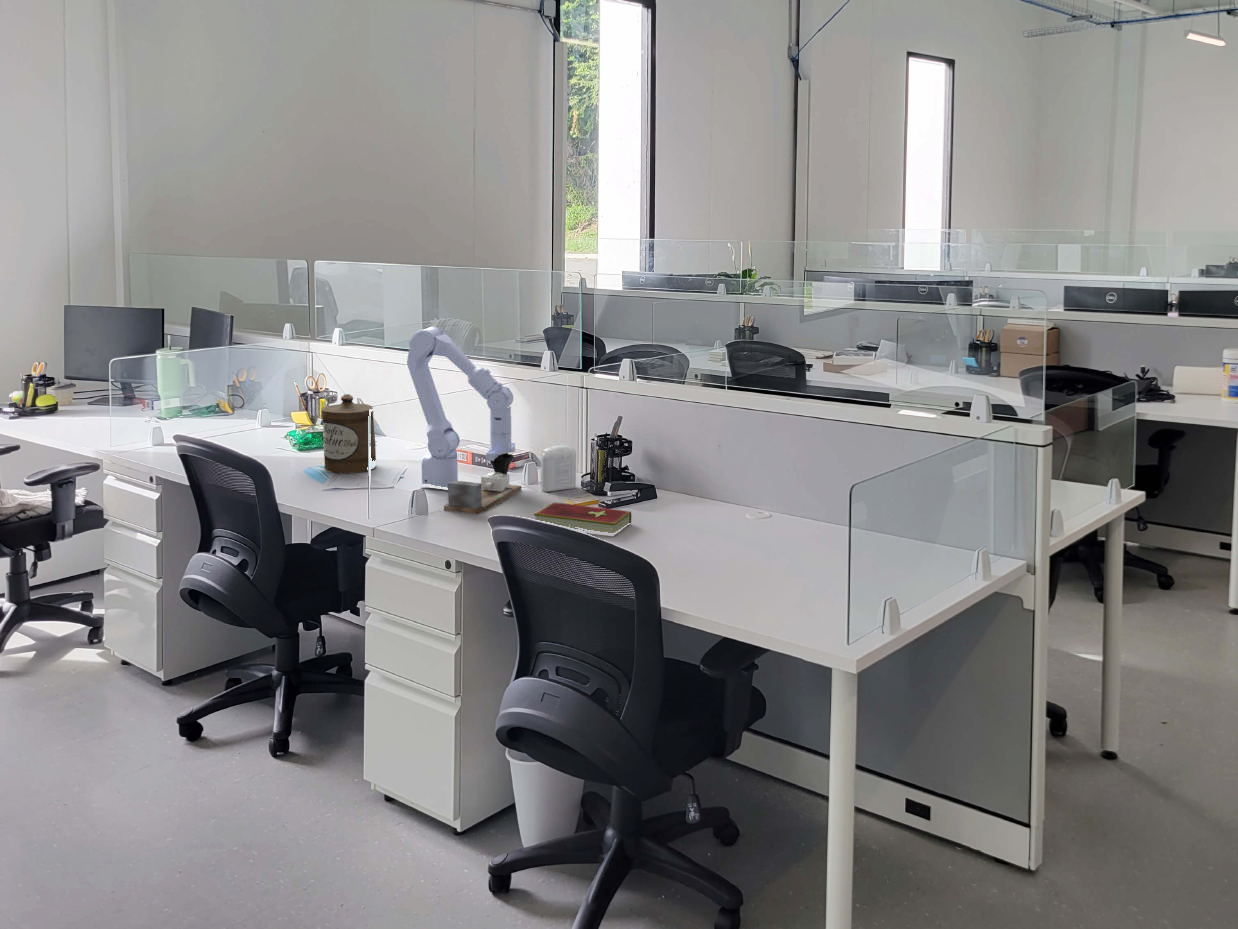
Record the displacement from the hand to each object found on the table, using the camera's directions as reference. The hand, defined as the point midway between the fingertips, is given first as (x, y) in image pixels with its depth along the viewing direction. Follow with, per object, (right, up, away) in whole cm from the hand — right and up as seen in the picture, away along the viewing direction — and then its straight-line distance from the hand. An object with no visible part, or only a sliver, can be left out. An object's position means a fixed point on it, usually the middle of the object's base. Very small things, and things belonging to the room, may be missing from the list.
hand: (501, 480), depth 297 cm
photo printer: (+16, -3, +3) cm, 16 cm away
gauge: (-1, -2, -5) cm, 6 cm away
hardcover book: (+24, -11, -31) cm, 40 cm away
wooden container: (-47, +3, +23) cm, 53 cm away
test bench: (-4, -5, -9) cm, 11 cm away
